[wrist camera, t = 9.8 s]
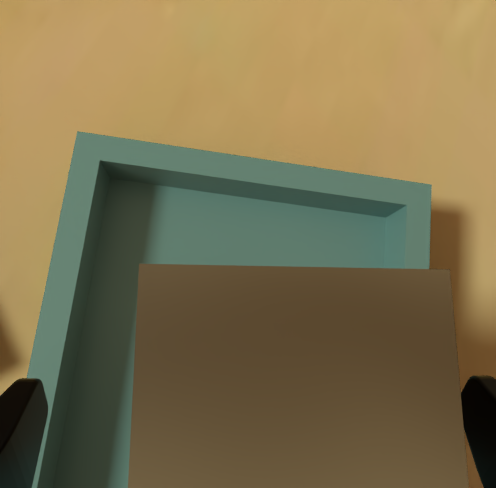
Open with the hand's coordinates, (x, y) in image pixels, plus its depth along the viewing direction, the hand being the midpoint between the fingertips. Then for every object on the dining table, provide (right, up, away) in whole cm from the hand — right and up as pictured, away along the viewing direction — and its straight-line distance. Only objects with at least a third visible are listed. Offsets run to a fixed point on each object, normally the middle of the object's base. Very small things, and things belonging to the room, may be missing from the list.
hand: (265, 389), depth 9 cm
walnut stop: (-1, -2, +8) cm, 9 cm away
